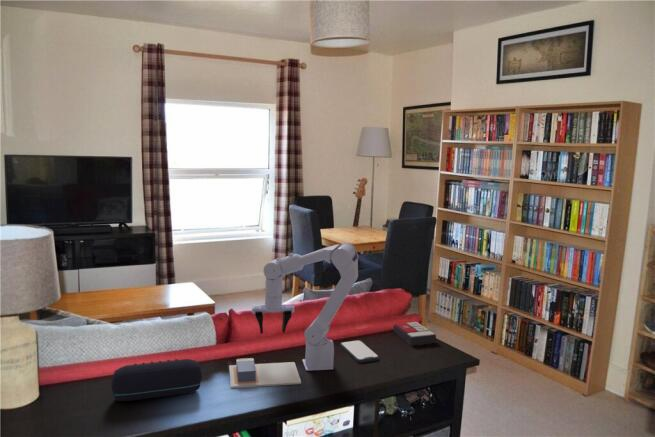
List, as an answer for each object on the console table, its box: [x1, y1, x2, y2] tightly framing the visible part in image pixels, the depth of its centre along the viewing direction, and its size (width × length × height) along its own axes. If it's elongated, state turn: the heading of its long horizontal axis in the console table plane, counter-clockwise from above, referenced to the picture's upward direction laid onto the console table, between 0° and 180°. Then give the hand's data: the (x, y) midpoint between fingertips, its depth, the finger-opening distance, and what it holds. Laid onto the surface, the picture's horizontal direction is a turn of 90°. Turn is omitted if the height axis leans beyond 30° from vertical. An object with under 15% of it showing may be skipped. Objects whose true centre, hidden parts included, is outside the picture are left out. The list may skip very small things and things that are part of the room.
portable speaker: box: [111, 358, 203, 402], centre depth 154 cm, size 25×10×10 cm, turn 111°
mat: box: [228, 361, 302, 389], centre depth 169 cm, size 22×14×1 cm, turn 103°
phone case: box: [339, 339, 380, 364], centre depth 190 cm, size 9×2×16 cm
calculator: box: [393, 321, 437, 347], centre depth 206 cm, size 11×4×15 cm
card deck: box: [235, 357, 256, 382], centre depth 167 cm, size 9×6×3 cm, turn 13°
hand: (272, 332), depth 181 cm, fingers open, 7 cm apart
